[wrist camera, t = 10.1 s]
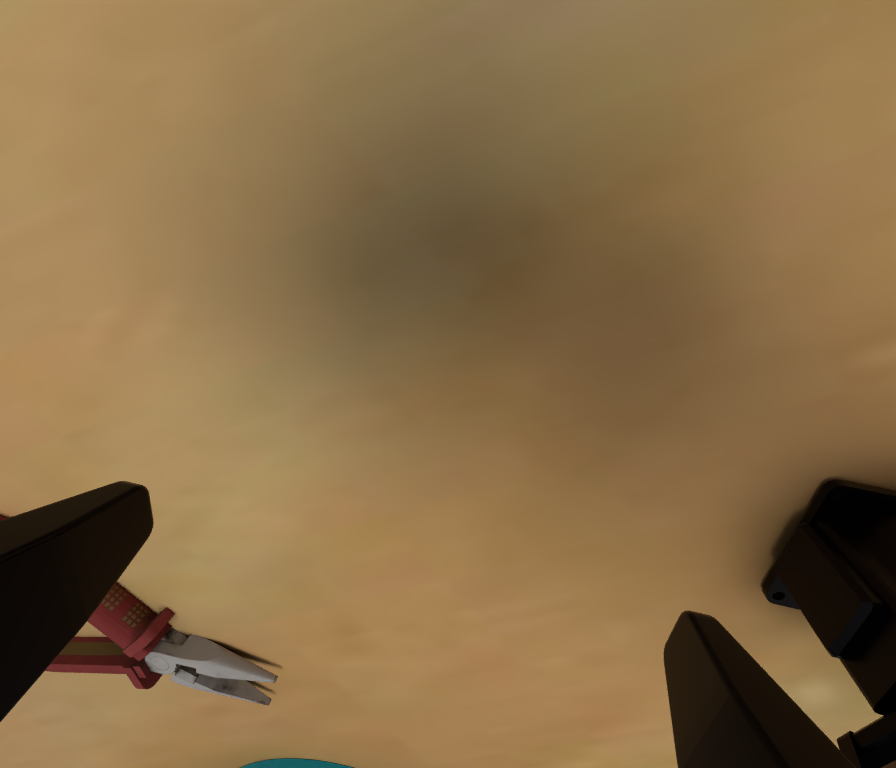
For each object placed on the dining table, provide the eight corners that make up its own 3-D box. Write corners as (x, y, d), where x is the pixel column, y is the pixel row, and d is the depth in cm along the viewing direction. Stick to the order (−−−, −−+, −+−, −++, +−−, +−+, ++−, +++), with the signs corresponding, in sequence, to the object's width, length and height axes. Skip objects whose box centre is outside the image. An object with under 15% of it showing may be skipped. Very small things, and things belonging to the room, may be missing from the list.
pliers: (269, 721, 32) (249, 762, 30) (6, 619, 32) (-35, 652, 30) (298, 615, 28) (277, 655, 25) (-9, 497, 28) (-59, 526, 25)
